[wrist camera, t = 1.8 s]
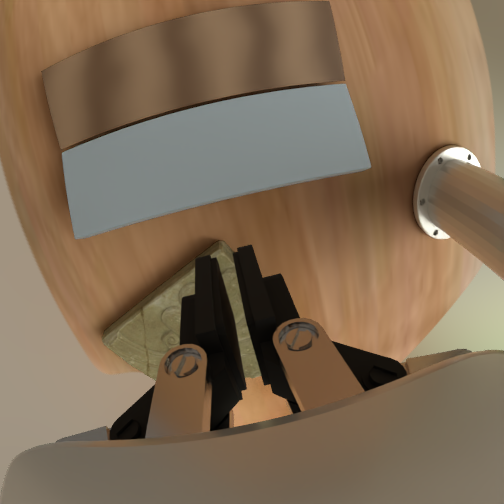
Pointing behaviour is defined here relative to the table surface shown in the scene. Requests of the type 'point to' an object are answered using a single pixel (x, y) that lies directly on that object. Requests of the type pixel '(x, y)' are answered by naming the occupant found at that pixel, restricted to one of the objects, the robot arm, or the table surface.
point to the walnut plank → (191, 65)
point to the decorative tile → (175, 319)
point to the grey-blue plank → (212, 156)
